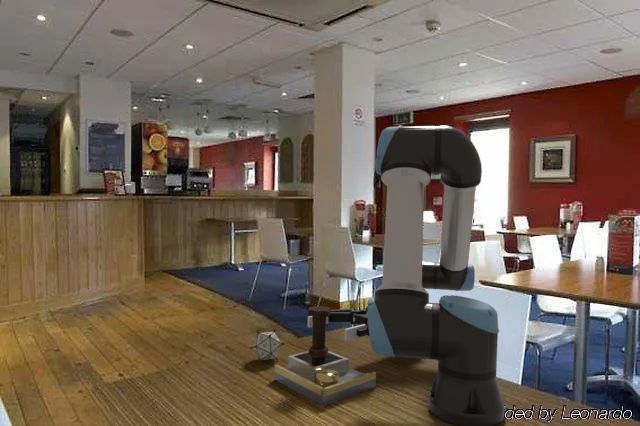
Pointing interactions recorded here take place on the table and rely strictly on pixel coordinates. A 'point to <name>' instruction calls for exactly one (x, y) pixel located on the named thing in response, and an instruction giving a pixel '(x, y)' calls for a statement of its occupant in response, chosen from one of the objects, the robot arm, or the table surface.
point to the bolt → (318, 334)
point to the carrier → (323, 378)
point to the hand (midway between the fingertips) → (326, 328)
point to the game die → (267, 345)
